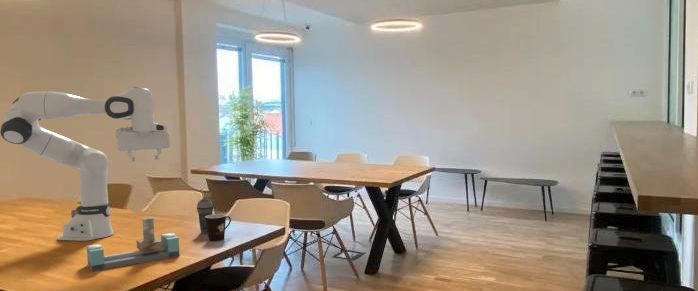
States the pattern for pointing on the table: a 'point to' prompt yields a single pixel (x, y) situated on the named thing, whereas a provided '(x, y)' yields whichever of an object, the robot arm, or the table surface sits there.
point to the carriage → (148, 237)
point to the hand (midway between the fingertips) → (144, 160)
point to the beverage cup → (204, 212)
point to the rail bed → (132, 254)
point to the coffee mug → (216, 226)
